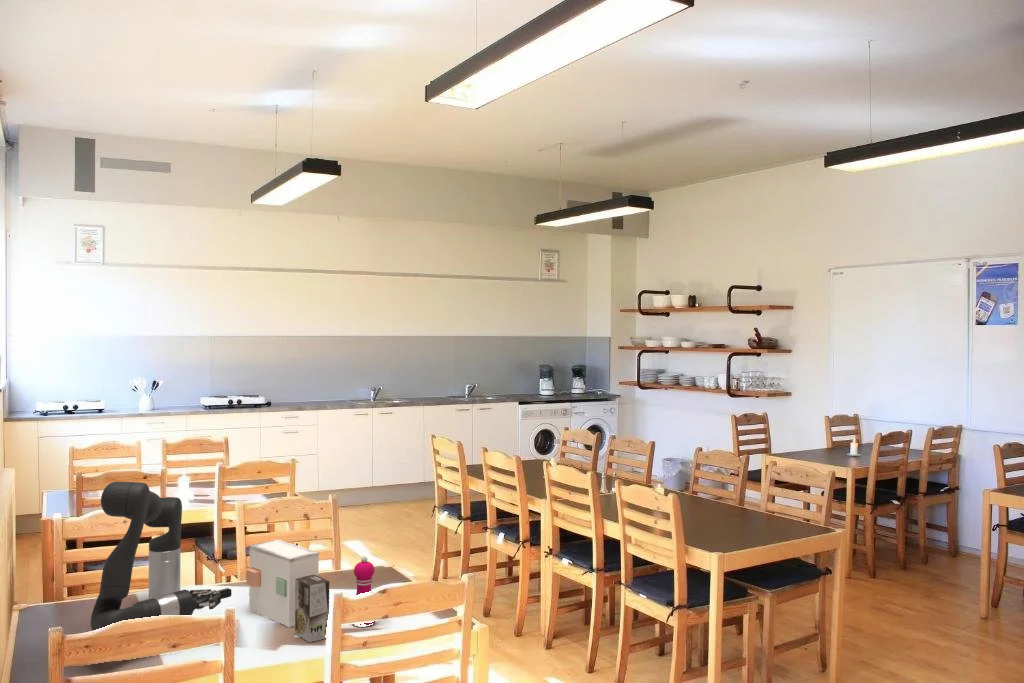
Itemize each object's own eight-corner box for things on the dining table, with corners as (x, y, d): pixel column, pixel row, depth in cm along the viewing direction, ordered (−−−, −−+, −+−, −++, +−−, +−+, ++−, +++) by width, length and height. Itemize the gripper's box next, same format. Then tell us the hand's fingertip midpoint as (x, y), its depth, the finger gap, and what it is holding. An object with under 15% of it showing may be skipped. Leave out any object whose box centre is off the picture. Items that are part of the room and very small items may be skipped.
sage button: (275, 593, 242) (276, 578, 242) (287, 590, 245) (287, 575, 244) (284, 596, 239) (284, 581, 239) (296, 593, 242) (296, 578, 242)
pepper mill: (365, 617, 247) (365, 551, 247) (381, 623, 242) (381, 556, 242) (346, 624, 241) (346, 556, 241) (362, 630, 237) (362, 561, 237)
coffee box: (329, 637, 231) (330, 581, 230) (309, 643, 226) (309, 585, 226) (314, 628, 238) (315, 573, 237) (294, 633, 233) (294, 577, 233)
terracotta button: (246, 584, 250) (246, 569, 250) (258, 581, 253) (258, 567, 253) (254, 587, 247) (254, 572, 247) (266, 584, 250) (266, 570, 250)
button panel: (249, 609, 253) (249, 545, 252) (277, 601, 260) (278, 539, 260) (289, 627, 238) (289, 559, 238) (318, 618, 245) (318, 552, 245)
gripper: (183, 599, 218) (242, 584, 231) (160, 588, 227) (218, 574, 240) (183, 626, 219) (242, 610, 232) (160, 614, 227) (218, 599, 240)
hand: (230, 592), depth 236 cm, fingers closed
